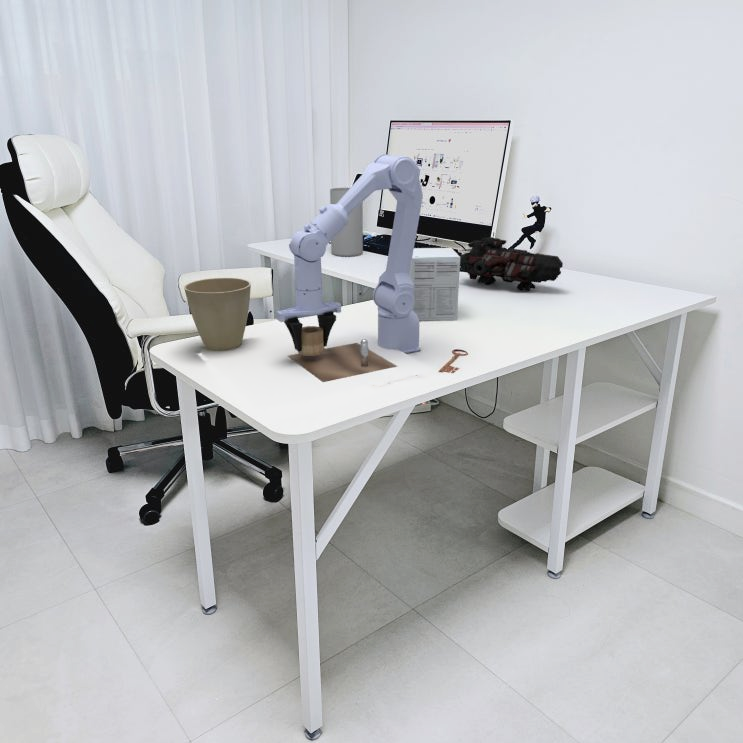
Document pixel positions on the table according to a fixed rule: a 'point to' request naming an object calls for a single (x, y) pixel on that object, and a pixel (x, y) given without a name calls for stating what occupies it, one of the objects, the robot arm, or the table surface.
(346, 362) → the fabric cloth
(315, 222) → the robot arm
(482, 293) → the table surface
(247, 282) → the plant pot
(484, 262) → the spaceship model
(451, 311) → the supplement box
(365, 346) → the silver metal cylinder
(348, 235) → the cylinder vase
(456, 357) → the key
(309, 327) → the bead
